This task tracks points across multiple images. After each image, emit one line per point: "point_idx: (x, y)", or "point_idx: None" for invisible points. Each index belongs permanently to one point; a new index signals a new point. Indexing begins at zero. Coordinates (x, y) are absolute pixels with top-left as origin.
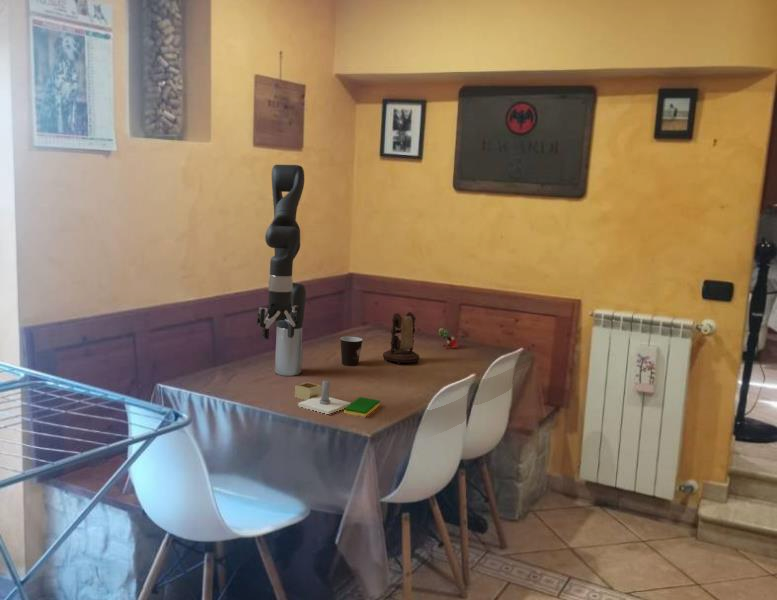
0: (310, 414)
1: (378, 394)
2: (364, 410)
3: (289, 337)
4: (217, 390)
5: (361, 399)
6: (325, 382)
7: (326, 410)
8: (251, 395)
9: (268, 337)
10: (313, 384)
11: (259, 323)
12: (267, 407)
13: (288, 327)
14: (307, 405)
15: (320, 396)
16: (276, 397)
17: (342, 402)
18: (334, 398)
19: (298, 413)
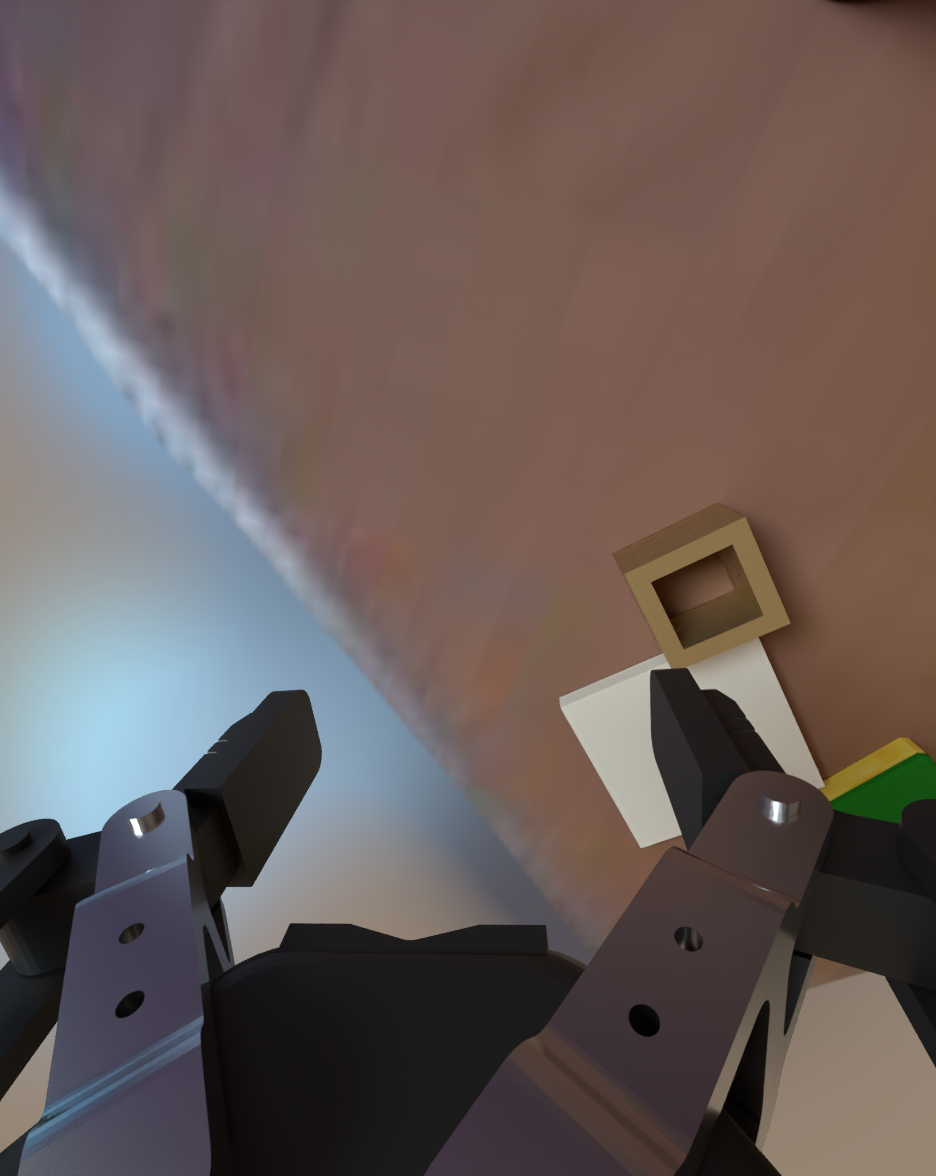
0: (566, 801)
1: None
2: None
3: (651, 717)
4: (217, 297)
5: (900, 794)
6: None
7: (638, 835)
8: (389, 454)
9: (306, 785)
10: (751, 587)
11: (2, 944)
12: (413, 663)
13: (693, 769)
14: (587, 752)
15: (731, 648)
16: (512, 528)
17: (785, 767)
18: (786, 701)
19: (521, 775)
